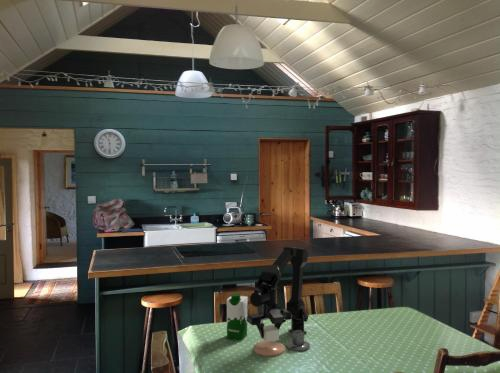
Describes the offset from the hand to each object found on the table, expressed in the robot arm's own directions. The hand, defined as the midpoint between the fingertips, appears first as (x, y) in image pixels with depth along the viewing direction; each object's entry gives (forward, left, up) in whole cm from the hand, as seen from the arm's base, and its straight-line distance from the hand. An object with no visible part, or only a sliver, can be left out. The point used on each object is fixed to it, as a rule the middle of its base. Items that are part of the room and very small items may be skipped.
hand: (269, 337), depth 183 cm
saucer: (0, 0, -6) cm, 6 cm away
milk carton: (-18, -7, -6) cm, 20 cm away
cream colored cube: (0, 0, 0) cm, 1 cm away
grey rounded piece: (+2, +13, -6) cm, 14 cm away
